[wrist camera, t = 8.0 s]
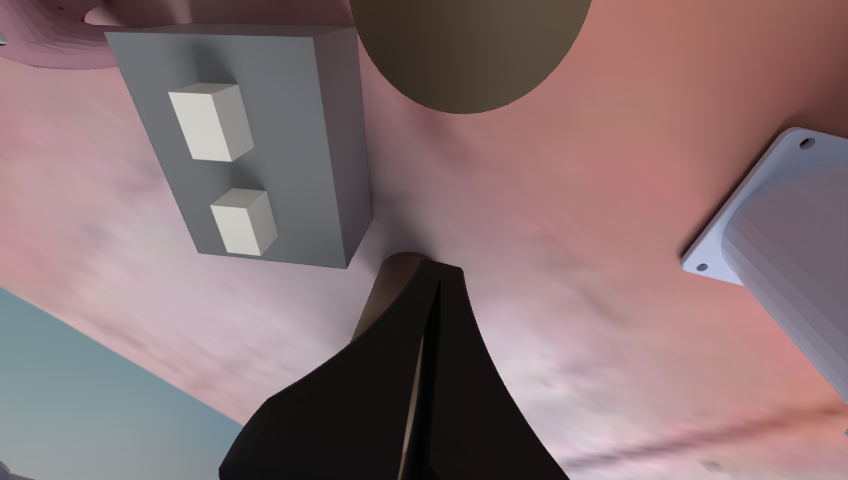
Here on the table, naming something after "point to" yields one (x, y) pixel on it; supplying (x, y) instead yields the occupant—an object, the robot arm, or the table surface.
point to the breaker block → (256, 134)
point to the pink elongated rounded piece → (54, 34)
